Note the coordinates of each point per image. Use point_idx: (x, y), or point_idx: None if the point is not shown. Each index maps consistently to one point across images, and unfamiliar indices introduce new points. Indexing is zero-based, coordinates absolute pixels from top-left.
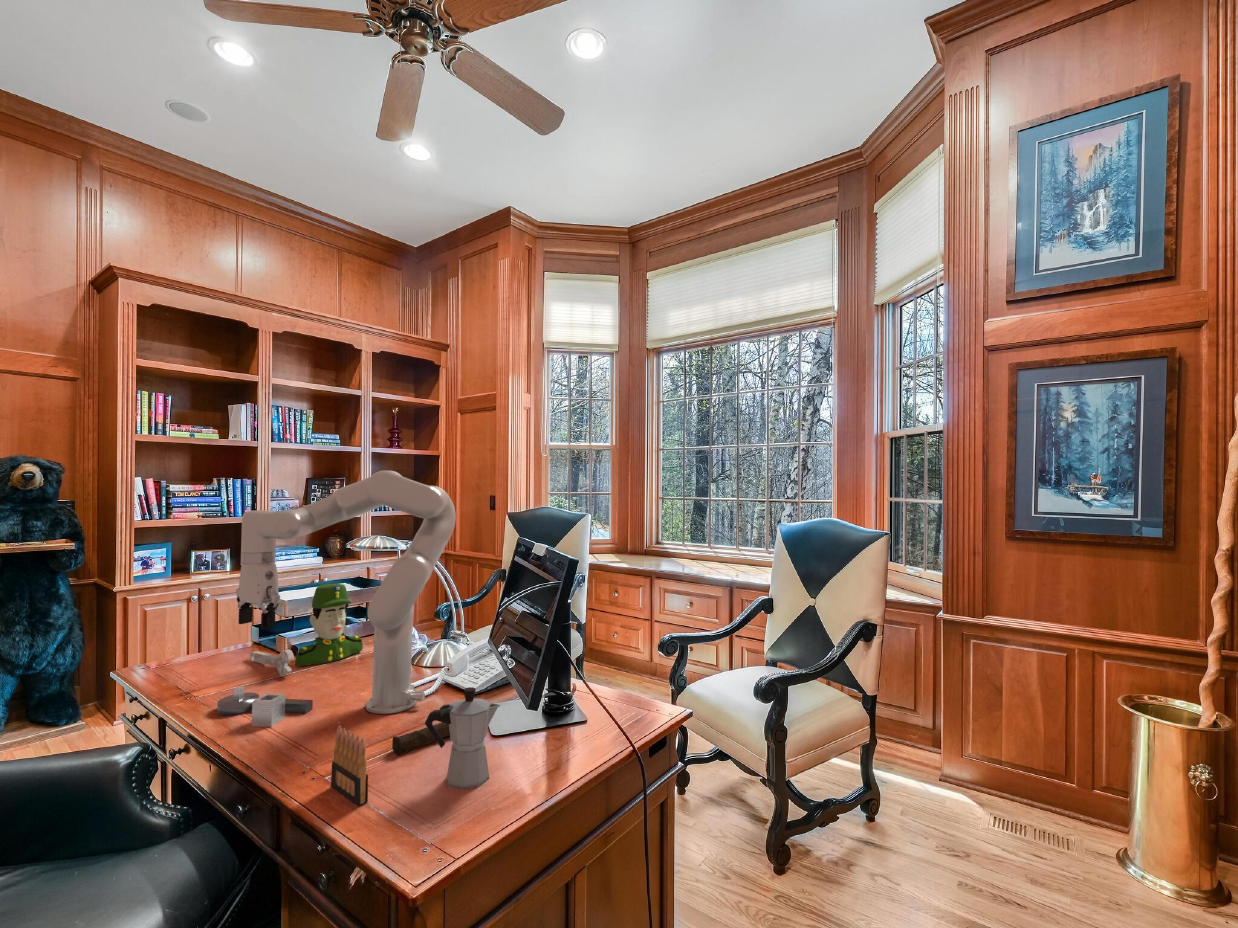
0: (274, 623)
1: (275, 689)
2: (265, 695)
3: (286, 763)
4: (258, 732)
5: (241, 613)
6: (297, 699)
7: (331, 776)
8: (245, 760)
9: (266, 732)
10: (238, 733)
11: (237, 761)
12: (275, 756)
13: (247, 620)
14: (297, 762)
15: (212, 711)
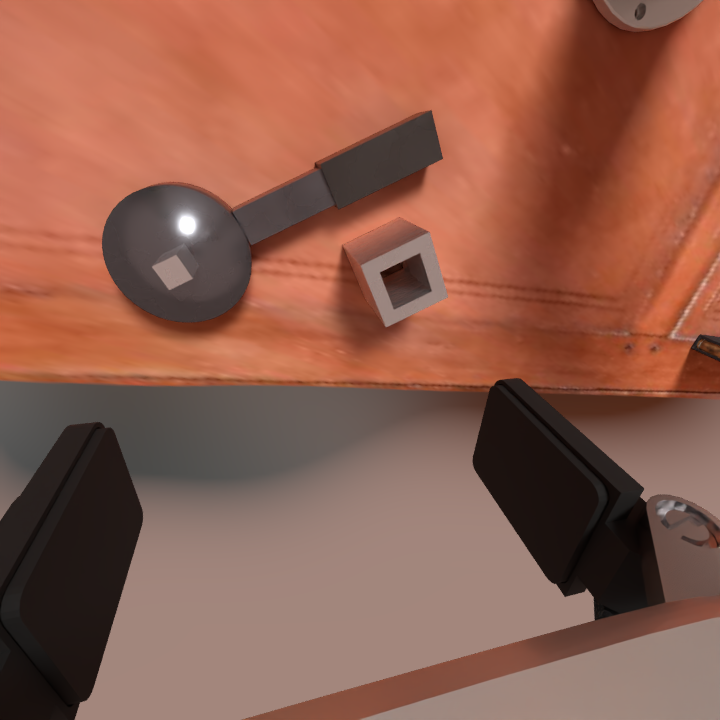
0: (532, 395)
1: (37, 5)
2: (376, 278)
3: (581, 348)
4: None
5: (104, 630)
6: (375, 138)
7: (709, 356)
8: None
9: None
10: (378, 337)
11: None
12: (543, 345)
13: (117, 483)
14: (597, 335)
15: None
